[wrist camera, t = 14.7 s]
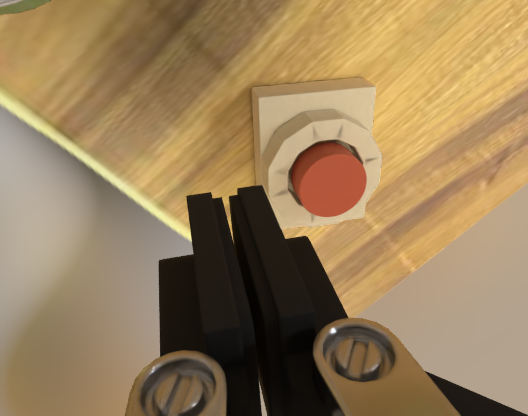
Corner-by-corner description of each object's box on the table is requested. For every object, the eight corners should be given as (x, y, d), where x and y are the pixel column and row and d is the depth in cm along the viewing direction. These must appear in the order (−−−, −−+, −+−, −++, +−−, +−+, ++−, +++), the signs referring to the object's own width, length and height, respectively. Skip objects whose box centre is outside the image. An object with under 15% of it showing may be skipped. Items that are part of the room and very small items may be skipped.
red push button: (291, 145, 26) (299, 158, 24) (358, 138, 26) (370, 150, 25) (291, 207, 28) (298, 222, 26) (353, 198, 28) (364, 212, 27)
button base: (251, 86, 27) (264, 107, 24) (362, 76, 28) (390, 95, 25) (257, 215, 32) (269, 248, 28) (352, 202, 33) (375, 232, 29)
